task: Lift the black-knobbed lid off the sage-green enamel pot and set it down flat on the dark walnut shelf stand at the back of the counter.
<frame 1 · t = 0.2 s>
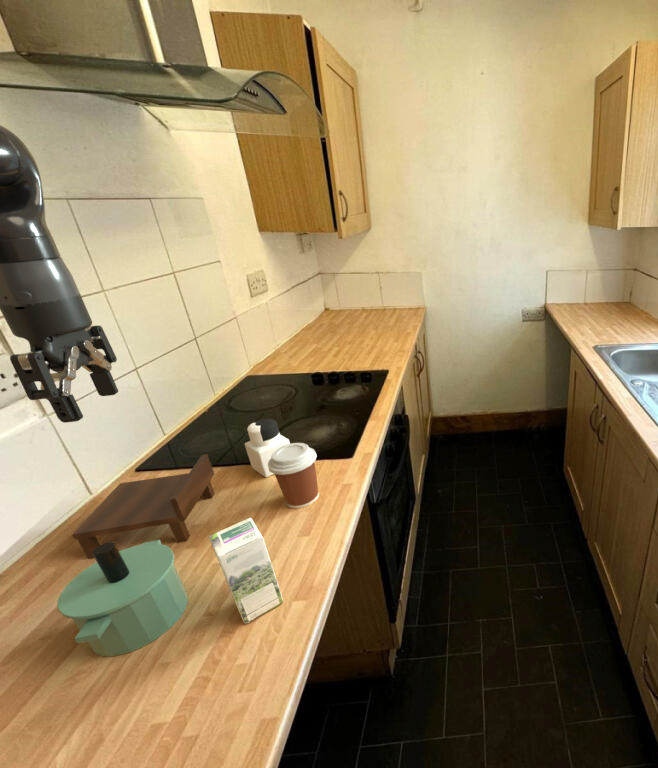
hand: (92, 407, 60), 32 cm above the table, tool pointing down, fingers open, 8 cm apart
shelf: (157, 522, 84), on the table
pot: (142, 618, 64), on the table
coffee cup: (303, 499, 90), on the table
lid: (120, 579, 61), point 8 cm above the table, touching pot
medicine bottle: (274, 466, 101), on the table
milk carton: (260, 604, 67), on the table
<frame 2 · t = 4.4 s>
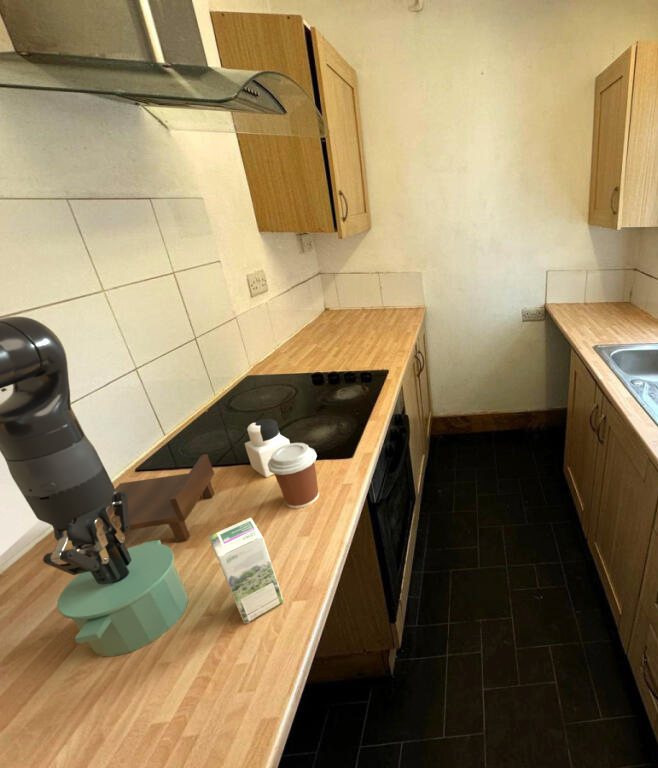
hand: (116, 572, 60), 10 cm above the table, tool pointing down, fingers closed on lid, 2 cm apart
lid: (120, 579, 61), point 8 cm above the table, touching gripper, pot
everything else where it was.
when the fingers open (8 cm above the table, at t = 11.6 s): lid stays where it is, resting on shelf.
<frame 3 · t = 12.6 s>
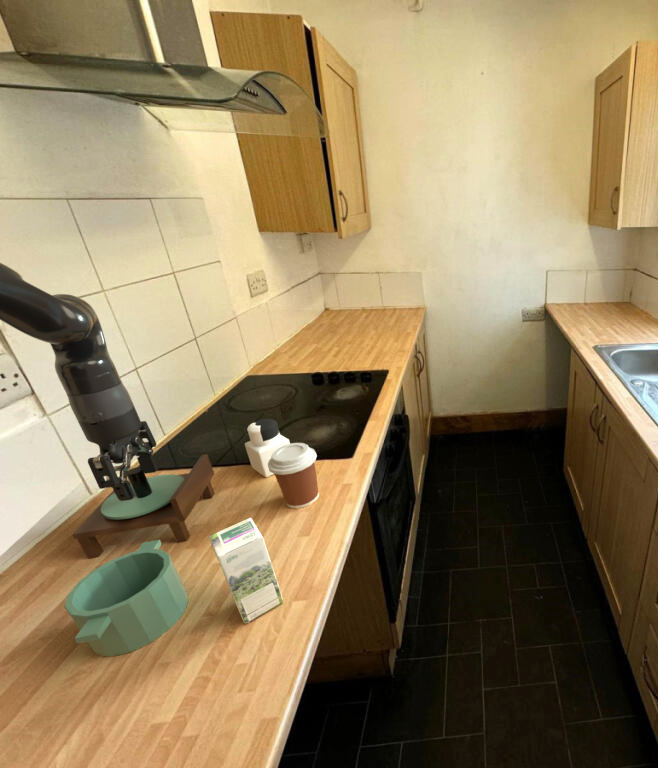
hand: (140, 484, 80), 9 cm above the table, tool pointing down, fingers open, 8 cm apart
lid: (145, 496, 81), point 7 cm above the table, touching shelf
everything else where it was.
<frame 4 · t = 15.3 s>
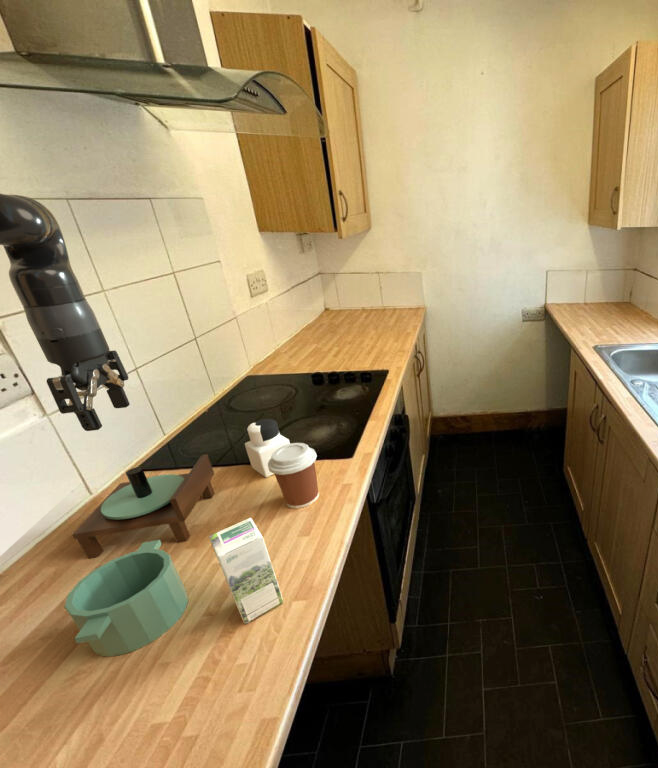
hand: (109, 417, 74), 24 cm above the table, tool pointing down, fingers open, 8 cm apart
nothing on the table moved.
at the end: lid inside the target area on the shelf (0.0 cm from its centre), point 6.6 cm above the shelf's base; lid tilted 0°; the gripper is holding nothing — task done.
